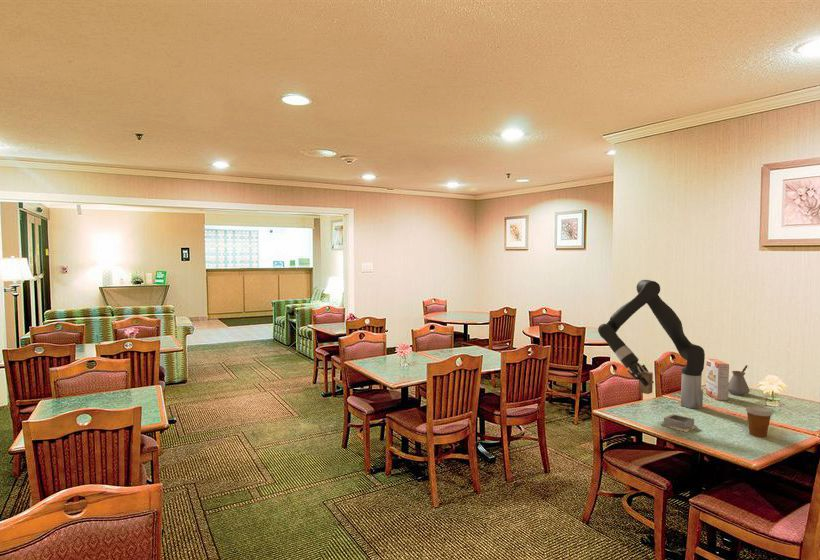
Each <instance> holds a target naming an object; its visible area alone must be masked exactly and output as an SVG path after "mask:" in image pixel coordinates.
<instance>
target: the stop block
mask: <svg viewBox="0 0 820 560" xmlns="http://www.w3.org/2000/svg"><path fill="white" fill-rule="evenodd" d="M641 375H642V376H643V378H644V379H645V380H646V381H647V382H648V383H649V385H647V386H644V385H643V383H642V382H641V381H640V380H638V393H641V394H646V395H650V394H652V393H653V384H654V383H653V382H654V380H653V379H654V377H653V376H654V373H653V371H652V372H651V371H649V372H646V371H642V373H641Z"/></svg>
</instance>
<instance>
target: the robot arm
mask: <svg viewBox="0 0 820 560" xmlns="http://www.w3.org/2000/svg"><path fill="white" fill-rule="evenodd" d="M636 292H637V293H638V294H637V295H636V296H634V298H632V299H631V300H630V301H628V302H626V303H625V304H623V305H622V306H620V307H619V308H618V309H617V310H616V311H615V312H614V313H613V314H612V315H611V316H610V318H609V319H608V321H607V322H606V323H601V324H600V325H599V326H598V329H597V332H598V334H599V336H600V338H601V339H603V340H604V342H606V343H607V344H608V346H609V347H610V349H611V350H612V352H613V353H614V354H615V356H616V358H618V360H619V361H620V363H622V365H623V366H624V368H626V369H628V370H627V372H628V373H629V374H630V375H631V376H632V377H633V378H634V379H635V380H638V381H639V380H640V381H641V382H642V383H643V385H644V386H647V385H649V383H648V382H647V381H646V380H645V379H644V378H643V376H642V375H641V373H642V371H646V372H650V371H649V369H648V368H647V367H646V365H645V364H642V365H641V364H640V363H639V358H638V356H636V355H635V353H634V352H633V351H632V349H631V348H630V347H628V345H626V342H624V341H623V340H622V339H621V338H620V336H619V335H618V334H617V332H618V330H619V329H620V328H621V327H622V326H623V325H624V324H625V323H626V322H627V321H628V320H629V319H630V318H631V317H632V316H633V315H634V314H635V313H636V312H637V311H639V310H640V309H641V308H642V307H644V306H645V305H646V304H647V306H648V307H649V308H650V310H651V312H652V313H653V315H654V317H655V318H656V319H657V321H658V323H659V324H660V326H661V327H662V329H663V330H664V331H665V333H666V334H667V335H668V337H669V338H670V340H671V341H672V343H673V344H674V347H675V348H676V350H677V352H678V354H679V356H680V357H681V358H682V359H683V360H685V361H686V365H685V366H684V367H682V368H681V379H680V380H681V387H680V389H681V390H680V405H681V406H682V407H685V408H688V409H702V408H703V403H704V402H703V401H704V399H703V398H704V389H702V381H703V380H702V379H703V378H702V377H703V370H704V368H705V358H706V357H705V350H704V348H703V347H702V346H700V345H697V344H695V343H692V342H691V341H690V340H689V339H688V337H687V336H686V335H685V333H684V332H685V331H684V328H683V322H682V321H681V320H680V318H679V316H678V315H677V313H676V312H675V311H674V309H672V308H671V307H670V306H669V305H668V304H667V303H666V302H665V301H663V299H662V298H661V297H660V296H659V294H660V293H661V285H660V283H658V282H657V281H656V280H655V281H654V280H652V279H651V280H650V279H641V280H639V281H638V282H637V284H636ZM653 384H654V381H653Z"/></svg>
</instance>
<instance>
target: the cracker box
mask: <svg viewBox="0 0 820 560" xmlns="http://www.w3.org/2000/svg"><path fill="white" fill-rule="evenodd" d="M705 371H706V372H705V375H706V377H705V378H706V379H705V394H706V395H708V396H709V397H711V398H713V399H714V400H716V401H725V402H727V401H729V391H728V385H729V381H730V378H729V377H730V374H729V373H730V364H729V363H727V362H724V361H722V360H721V359H720V360H719V359H718V358H706V369H705Z"/></svg>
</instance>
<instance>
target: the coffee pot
mask: <svg viewBox="0 0 820 560" xmlns="http://www.w3.org/2000/svg"><path fill="white" fill-rule="evenodd" d="M747 369H748V365H747V364H746V365H745V366H744V367H743V369H742V371H739V370H732V371H731V373H732V376H731V377H730V378H729V385H728V393H730V394H732V395H734V396H735V395H736V396H746V395H747V394H749V393H750V392H751V391H750V388H749V385H748V383H747V381H746V378H745V375H746V372H745V371H746V370H747Z"/></svg>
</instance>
